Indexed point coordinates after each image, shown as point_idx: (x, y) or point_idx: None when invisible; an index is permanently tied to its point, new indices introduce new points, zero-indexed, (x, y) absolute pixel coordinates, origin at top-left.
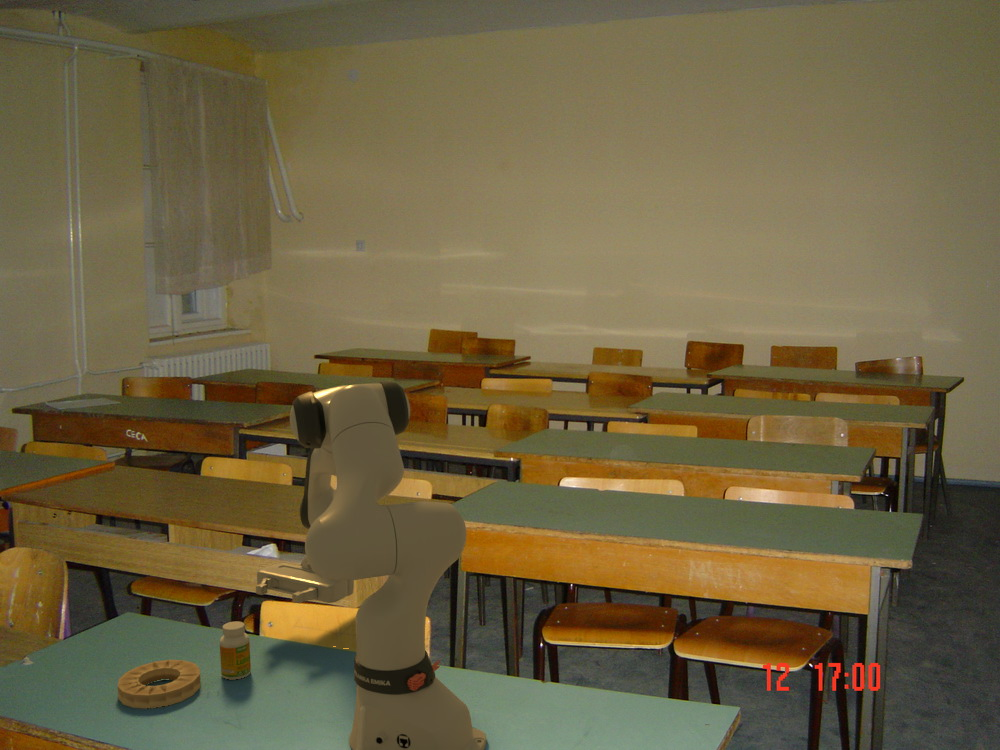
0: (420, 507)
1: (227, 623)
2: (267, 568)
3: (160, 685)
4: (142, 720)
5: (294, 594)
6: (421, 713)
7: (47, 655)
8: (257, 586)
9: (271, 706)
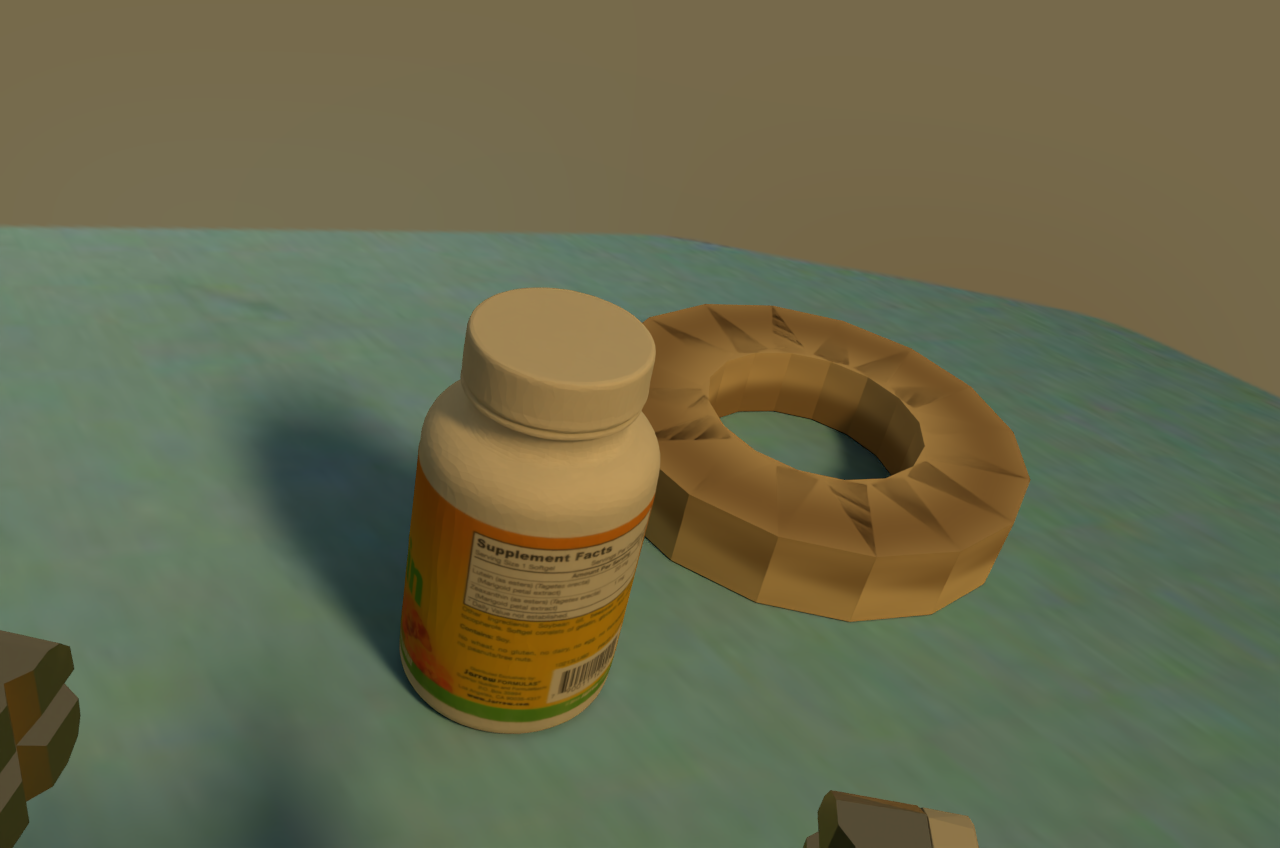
0: None
1: (641, 351)
2: None
3: (731, 356)
4: (643, 309)
5: (15, 638)
6: None
7: None
8: (942, 815)
9: (71, 402)
